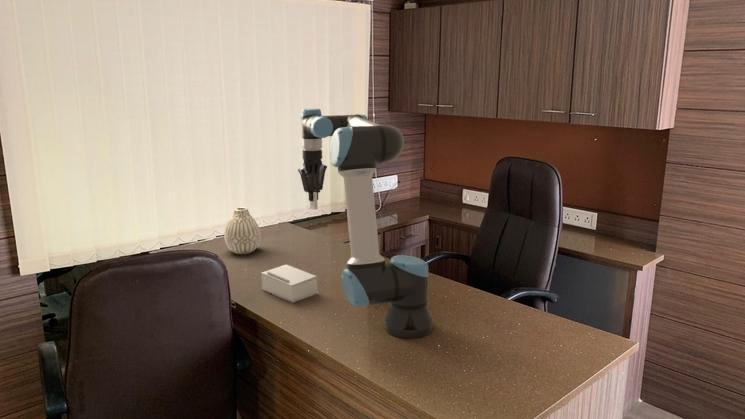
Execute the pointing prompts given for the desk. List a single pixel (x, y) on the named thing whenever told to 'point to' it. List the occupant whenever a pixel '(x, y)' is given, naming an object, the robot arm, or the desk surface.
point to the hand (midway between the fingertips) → (313, 208)
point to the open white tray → (290, 289)
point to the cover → (289, 275)
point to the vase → (242, 232)
